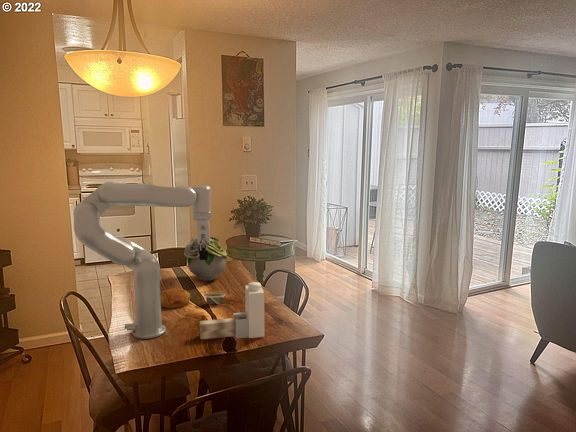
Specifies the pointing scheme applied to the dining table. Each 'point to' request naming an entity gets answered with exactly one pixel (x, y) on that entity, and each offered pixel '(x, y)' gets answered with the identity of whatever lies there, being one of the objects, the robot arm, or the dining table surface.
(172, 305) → the croissant
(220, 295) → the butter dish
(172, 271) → the dining table surface
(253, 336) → the post
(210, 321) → the rail
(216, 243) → the flower arrangement
